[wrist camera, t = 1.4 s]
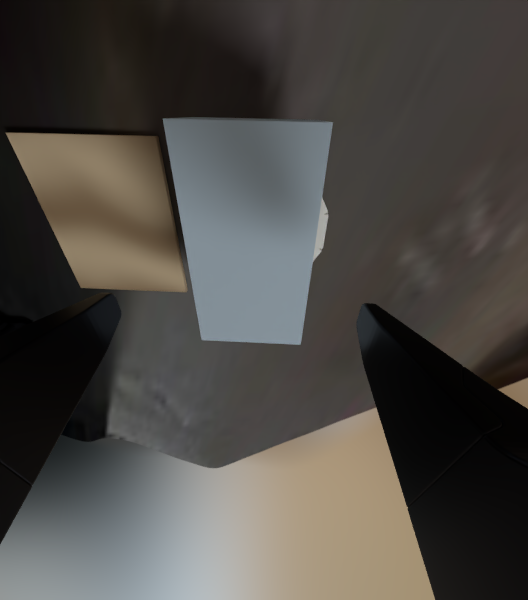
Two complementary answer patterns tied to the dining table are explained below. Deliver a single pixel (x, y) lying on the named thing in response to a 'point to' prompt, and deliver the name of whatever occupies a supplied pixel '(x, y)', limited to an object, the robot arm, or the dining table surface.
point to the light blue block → (249, 220)
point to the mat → (106, 207)
